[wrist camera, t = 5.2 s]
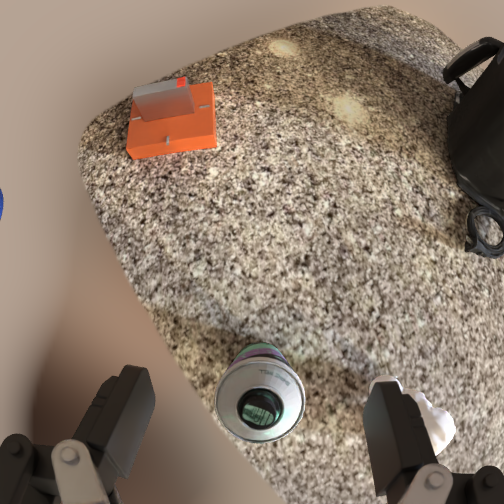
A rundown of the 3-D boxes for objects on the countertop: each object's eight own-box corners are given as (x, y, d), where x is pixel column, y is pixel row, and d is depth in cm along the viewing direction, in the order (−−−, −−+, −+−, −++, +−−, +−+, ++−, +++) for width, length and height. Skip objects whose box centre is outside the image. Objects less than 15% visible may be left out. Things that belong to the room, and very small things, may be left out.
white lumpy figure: (431, 472, 21) (367, 409, 25) (404, 451, 30) (348, 396, 33) (470, 427, 22) (411, 361, 26) (437, 416, 30) (384, 359, 34)
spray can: (288, 382, 33) (321, 449, 13) (240, 392, 33) (218, 467, 13) (278, 337, 34) (303, 353, 15) (231, 346, 34) (195, 373, 14)
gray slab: (145, 121, 38) (131, 96, 32) (146, 112, 38) (133, 86, 33) (194, 113, 38) (186, 85, 32) (194, 103, 38) (186, 75, 33)
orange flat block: (133, 163, 40) (124, 152, 37) (139, 104, 42) (133, 92, 39) (217, 150, 40) (213, 138, 37) (214, 92, 42) (211, 78, 39)
